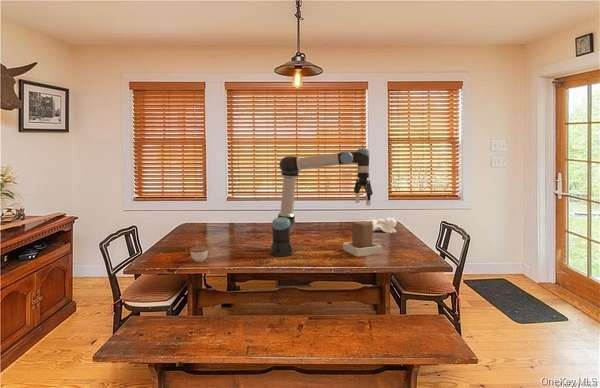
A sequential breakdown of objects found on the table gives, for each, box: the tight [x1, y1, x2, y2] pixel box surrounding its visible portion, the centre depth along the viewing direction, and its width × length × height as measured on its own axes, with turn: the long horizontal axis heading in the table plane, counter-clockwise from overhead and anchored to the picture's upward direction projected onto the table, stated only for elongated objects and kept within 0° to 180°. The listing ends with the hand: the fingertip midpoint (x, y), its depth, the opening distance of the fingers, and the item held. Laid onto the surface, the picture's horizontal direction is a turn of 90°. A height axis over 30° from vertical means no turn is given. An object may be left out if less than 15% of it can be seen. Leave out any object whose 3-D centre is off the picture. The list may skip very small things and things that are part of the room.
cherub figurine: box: [371, 217, 397, 234], centre depth 336 cm, size 13×12×20 cm
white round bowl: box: [189, 245, 209, 263], centre depth 252 cm, size 11×11×9 cm
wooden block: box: [351, 220, 374, 248], centre depth 270 cm, size 10×10×20 cm
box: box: [342, 241, 383, 258], centre depth 271 cm, size 19×19×5 cm
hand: (362, 204), depth 268 cm, fingers open, 13 cm apart
